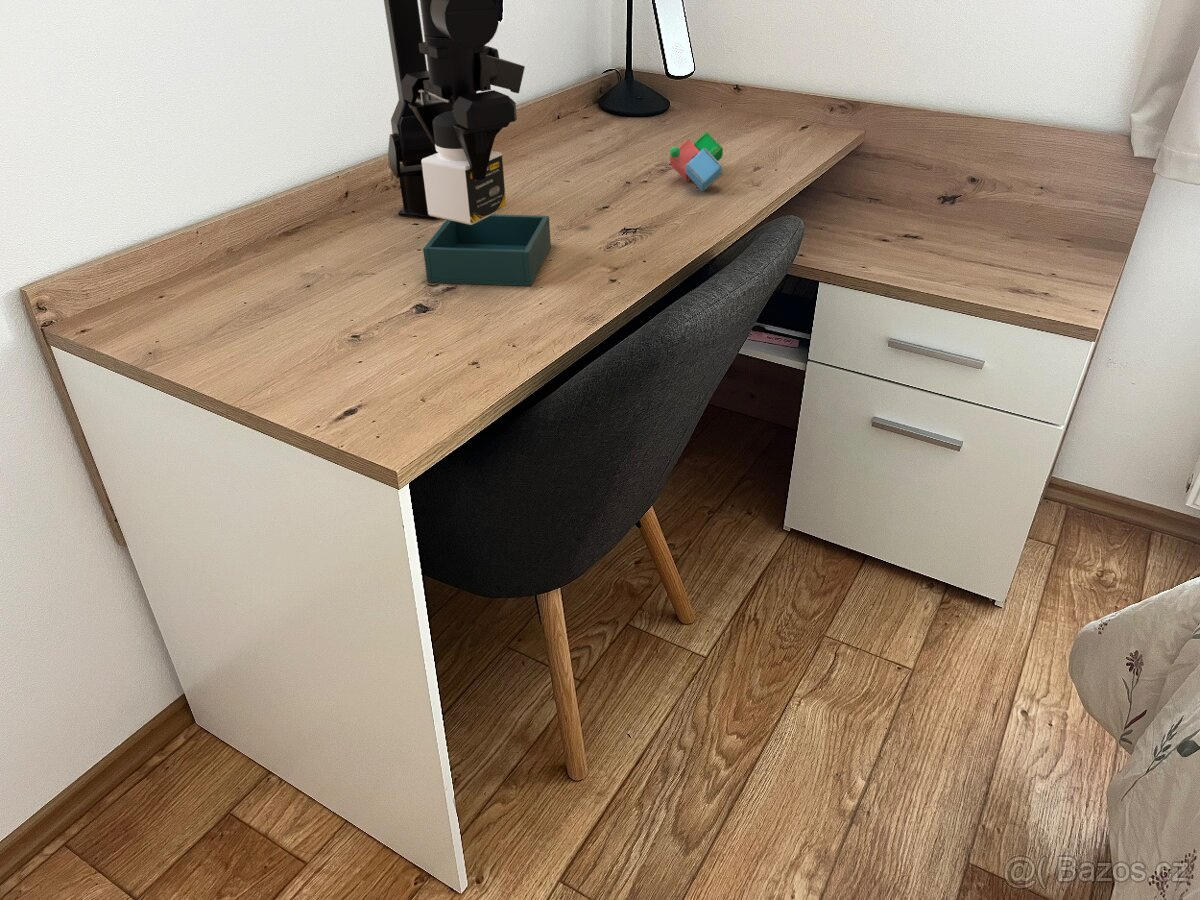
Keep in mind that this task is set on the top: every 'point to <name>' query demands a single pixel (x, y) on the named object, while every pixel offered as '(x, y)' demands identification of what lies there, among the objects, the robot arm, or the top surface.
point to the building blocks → (698, 160)
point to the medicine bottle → (460, 179)
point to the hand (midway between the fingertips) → (463, 170)
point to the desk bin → (489, 251)
